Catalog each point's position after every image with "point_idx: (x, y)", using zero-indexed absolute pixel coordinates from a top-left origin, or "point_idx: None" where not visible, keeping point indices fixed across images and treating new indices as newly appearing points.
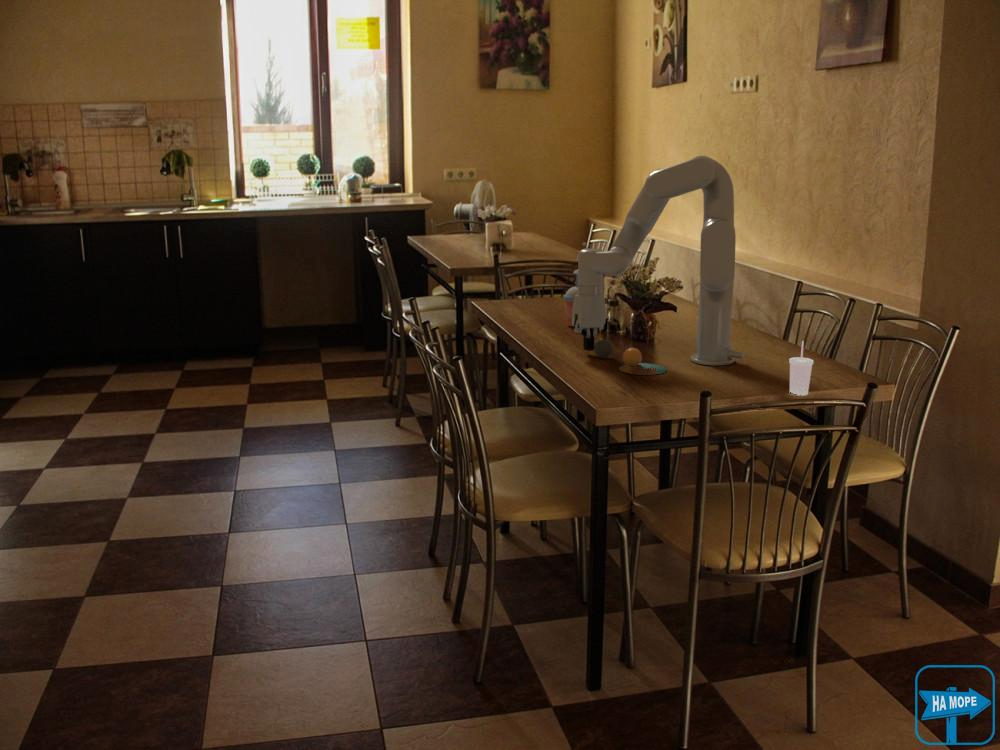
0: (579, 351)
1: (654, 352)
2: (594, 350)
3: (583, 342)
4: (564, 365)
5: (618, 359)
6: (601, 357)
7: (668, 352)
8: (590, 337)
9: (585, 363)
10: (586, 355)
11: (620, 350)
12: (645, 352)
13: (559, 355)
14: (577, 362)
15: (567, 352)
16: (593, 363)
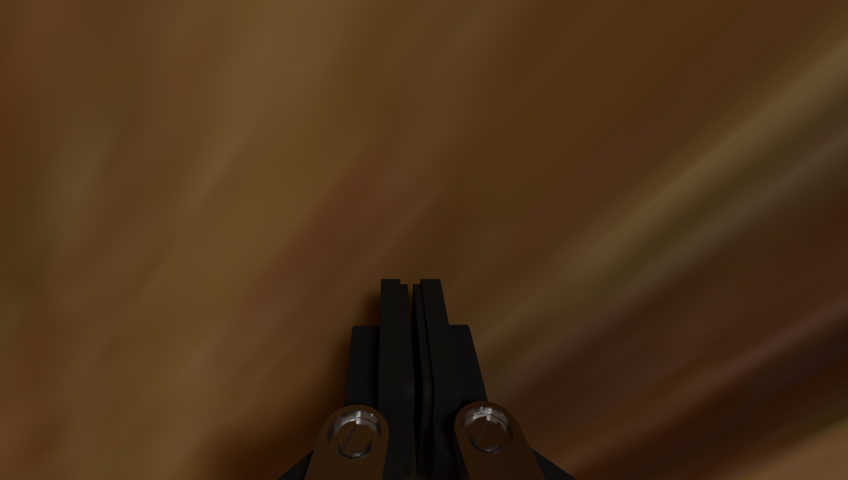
0: (429, 135)
1: (800, 443)
2: None
3: (349, 361)
4: (9, 434)
5: None
6: None
7: (841, 470)
8: (427, 455)
9: (206, 453)
10: (371, 298)
11: (734, 312)
12: (770, 423)
13: (99, 154)
14: (160, 416)
15: (271, 88)
16: (261, 470)
